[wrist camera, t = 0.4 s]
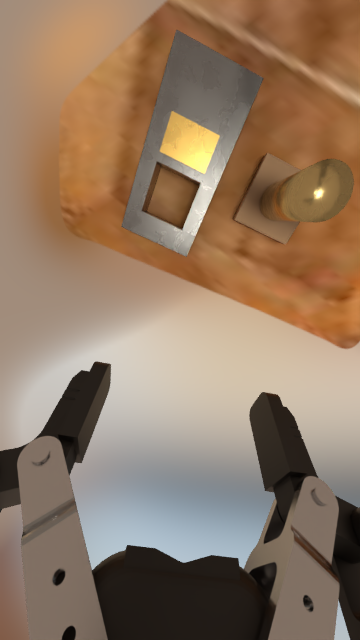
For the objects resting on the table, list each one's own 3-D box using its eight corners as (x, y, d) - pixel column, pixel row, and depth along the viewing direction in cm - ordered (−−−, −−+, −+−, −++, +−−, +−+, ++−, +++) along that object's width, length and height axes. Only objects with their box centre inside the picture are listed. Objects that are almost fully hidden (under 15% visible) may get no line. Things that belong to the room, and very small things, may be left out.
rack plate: (179, 50, 25) (176, 27, 22) (257, 92, 26) (264, 77, 23) (128, 226, 33) (120, 226, 30) (187, 253, 34) (186, 256, 31)
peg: (272, 175, 27) (317, 148, 16) (302, 191, 28) (366, 174, 17) (253, 211, 29) (283, 208, 18) (282, 226, 29) (327, 230, 19)
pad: (263, 156, 28) (267, 152, 26) (316, 184, 29) (324, 182, 27) (232, 219, 31) (234, 219, 30) (281, 243, 32) (285, 244, 30)
